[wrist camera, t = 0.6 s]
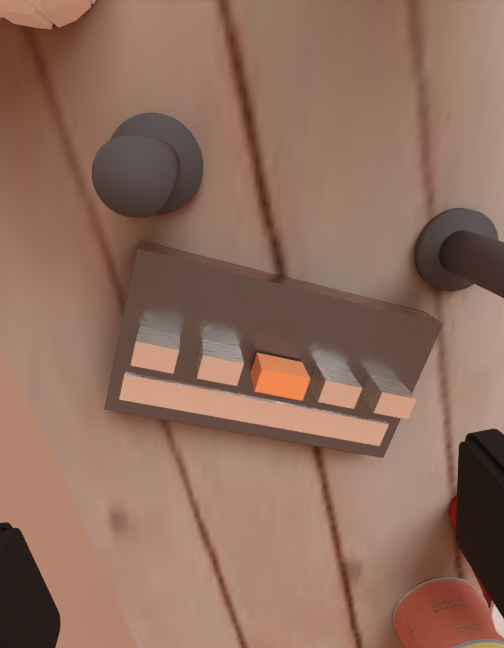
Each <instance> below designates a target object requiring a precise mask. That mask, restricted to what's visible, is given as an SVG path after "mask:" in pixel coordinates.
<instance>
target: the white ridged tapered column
mask: <svg viewBox="0 0 504 648" xmlns="http://www.w3.org/2000/svg"><path fill="white" fill-rule="evenodd" d="M95 1H96V0H0V19H2V18H6V19H7V20H9V21H10V22H12V23H13V24H17V25H23V26H28V27H33V28H41V29H52V26H53V23H54V24H55V25H56V26H57V27H62V26H64V25H67V24H69V23H71V22H74V21H76V20H77V19H78V18H79V17H81V16H82V15H83V14H84V13H85V12H86V11H87V10H88V9H89V8H90V7H91V4H94V3H95Z"/></svg>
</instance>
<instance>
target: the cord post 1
mask: <svg viewBox="0 0 504 648" xmlns="http://www.w3.org/2000/svg"><path fill="white" fill-rule="evenodd" d="M202 173H203V160H202V155H201V151H200V148H199V146H198V143H197V141H196V140H195V138H194V136H193V135H192V134H191V132H190V131H189V130H188V129H187V128H186V127H185V126H184V125H183V124H181V123H180V122H178V121H177V120H175V119H173V118H171V117H169V116H166V115H163V114H157V113H146V114H140V115H137V116H134V117H132V118H130V119H128V120H127V121H125V122H124V123H123V124H122V125H120V126H119V128H118V129H117V130H116V131H115V133H114V134H113V136H112V138H111V140H110V141H108V142H107V143H106V144H104V145H103V146H102V147H101V148H100V150H99V151H98V153H97V154H96V157H95V159H94V162H93V167H92V180H93V184H94V187H95V190H96V192H97V194H98V196H99V197H100V199H101V200H102V201H103V203H104V204H105V205H106V206H107V207H109V208H110V209H111V210H113V211H114V212H116V213H118V214H120V215H123V216H127V217H144V216H148V215H150V214H153V213H167V212H171V211H174V210H176V209H178V208H180V207H182V206H183V205H185V204H186V203H187V202H188V201H189V200H190V199H191V198H192V197H193V196H194V194H195V193H196V191H197V189H198V187H199V185H200V182H201V179H202Z"/></svg>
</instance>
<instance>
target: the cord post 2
mask: <svg viewBox="0 0 504 648" xmlns="http://www.w3.org/2000/svg"><path fill="white" fill-rule="evenodd" d="M415 263H416V267H417V270H418V272H419V273H420V275H421V276H422V277H423V279H424V280H426V281H427V282H428V283H430V284H432V285H433V286H435V287H437V288H439V289H442V290H447V291H456V290H461V289H465V288H467V287H469V286H471V285H473V284H476V285H478V286H480V287H482V288H485V289H487V290H489V291H491V292H493V293H495V294H497V295H499V296H501V297H503V298H504V242H501V241H498V235H497V231H496V228H495V226H494V224H493V223H492V222H491V220H490V219H489V218H488V217H487V216H485V215H484V214H482V213H480V212H477V211H474V210H470V209H464V208H456V209H451V210H447V211H445V212H442V213H440V214H439V215H437V216H436V217H434V218H433V219H432V220H431V221H430V222H429V223H428V224H427V225H426V226H425V227H424V229H423V230H422V232H421V234H420V235H419V238H418V240H417V243H416V247H415Z"/></svg>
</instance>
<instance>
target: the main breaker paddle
mask: <svg viewBox="0 0 504 648" xmlns="http://www.w3.org/2000/svg"><path fill="white" fill-rule="evenodd" d="M250 375H251V379H252V383H253V387H254V391H255V392H260V393H265V394H270V395H275V396H281V397H286V398H291V399H296V400H301V401H303V398H304V396H305V393H306V390H307V387H308V384H309V382H310V377H309V375H308V373H307V371H306V369H305V367H304V365H303V363H302V362H299V361H294V360H290V359H285V358H280V357H275V356H271V355H266V354H261V353H257V354H256V357H255V360H254V363H253V366H252V370H251V373H250Z"/></svg>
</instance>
